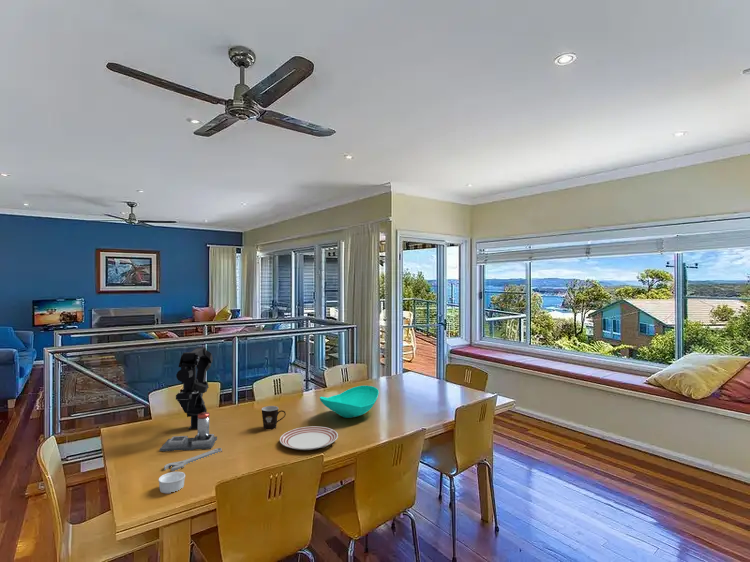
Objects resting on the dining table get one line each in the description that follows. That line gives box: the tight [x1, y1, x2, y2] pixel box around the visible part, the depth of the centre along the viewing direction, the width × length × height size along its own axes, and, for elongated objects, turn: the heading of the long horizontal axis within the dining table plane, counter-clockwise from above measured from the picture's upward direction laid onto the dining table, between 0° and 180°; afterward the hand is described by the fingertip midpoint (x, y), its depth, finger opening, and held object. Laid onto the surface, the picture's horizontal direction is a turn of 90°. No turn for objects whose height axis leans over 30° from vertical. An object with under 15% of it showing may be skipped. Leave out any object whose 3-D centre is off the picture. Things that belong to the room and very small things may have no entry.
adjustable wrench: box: [163, 447, 223, 472], centre depth 174 cm, size 25×6×2 cm, turn 140°
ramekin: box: [158, 471, 186, 494], centre depth 151 cm, size 9×9×4 cm
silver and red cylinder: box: [196, 411, 210, 440], centre depth 192 cm, size 5×5×13 cm
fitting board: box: [159, 433, 218, 452], centre depth 191 cm, size 12×22×3 cm, turn 99°
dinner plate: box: [279, 425, 339, 451], centre depth 195 cm, size 27×27×3 cm
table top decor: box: [319, 385, 380, 419], centre depth 235 cm, size 40×28×13 cm
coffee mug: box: [261, 405, 286, 430], centre depth 214 cm, size 12×9×10 cm
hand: (189, 410), depth 200 cm, fingers open, 9 cm apart
